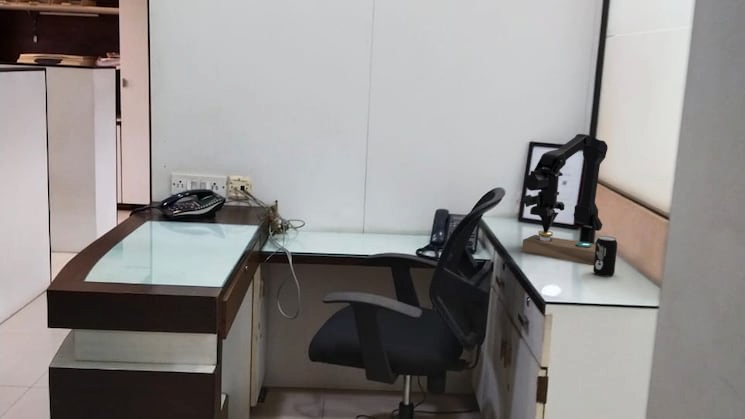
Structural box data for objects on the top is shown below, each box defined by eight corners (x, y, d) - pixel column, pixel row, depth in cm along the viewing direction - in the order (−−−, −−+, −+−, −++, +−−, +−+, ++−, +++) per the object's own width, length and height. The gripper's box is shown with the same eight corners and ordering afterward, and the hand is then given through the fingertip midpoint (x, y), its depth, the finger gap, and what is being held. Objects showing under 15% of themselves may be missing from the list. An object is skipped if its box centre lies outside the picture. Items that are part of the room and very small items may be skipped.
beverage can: (615, 277, 235) (619, 240, 233) (593, 275, 237) (597, 239, 235) (613, 272, 242) (616, 236, 240) (592, 270, 243) (595, 234, 241)
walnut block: (534, 246, 274) (535, 234, 274) (604, 258, 261) (605, 245, 260) (521, 252, 264) (522, 239, 264) (594, 264, 251) (595, 251, 250)
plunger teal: (577, 255, 262) (579, 240, 261) (591, 257, 260) (593, 243, 259) (573, 257, 258) (574, 243, 257) (587, 260, 255) (588, 245, 254)
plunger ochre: (540, 243, 269) (541, 229, 268) (553, 246, 267) (554, 231, 266) (535, 246, 265) (536, 232, 264) (548, 248, 262) (549, 234, 262)
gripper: (537, 183, 274) (533, 224, 277) (517, 189, 259) (514, 232, 262) (566, 187, 268) (562, 229, 271) (548, 192, 253) (544, 237, 256)
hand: (545, 232), depth 265 cm, fingers closed, pressing on plunger ochre
